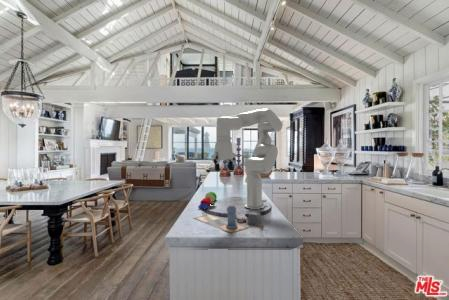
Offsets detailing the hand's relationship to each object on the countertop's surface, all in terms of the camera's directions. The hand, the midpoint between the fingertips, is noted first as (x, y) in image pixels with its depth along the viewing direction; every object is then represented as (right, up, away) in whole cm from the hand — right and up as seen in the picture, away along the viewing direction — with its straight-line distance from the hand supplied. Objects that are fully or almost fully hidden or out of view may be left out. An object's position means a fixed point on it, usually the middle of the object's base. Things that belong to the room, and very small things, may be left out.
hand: (224, 170), depth 152 cm
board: (-3, -27, -9) cm, 28 cm away
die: (+16, -27, -9) cm, 32 cm away
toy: (-10, -26, +24) cm, 37 cm away
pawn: (+4, -27, -17) cm, 32 cm away
